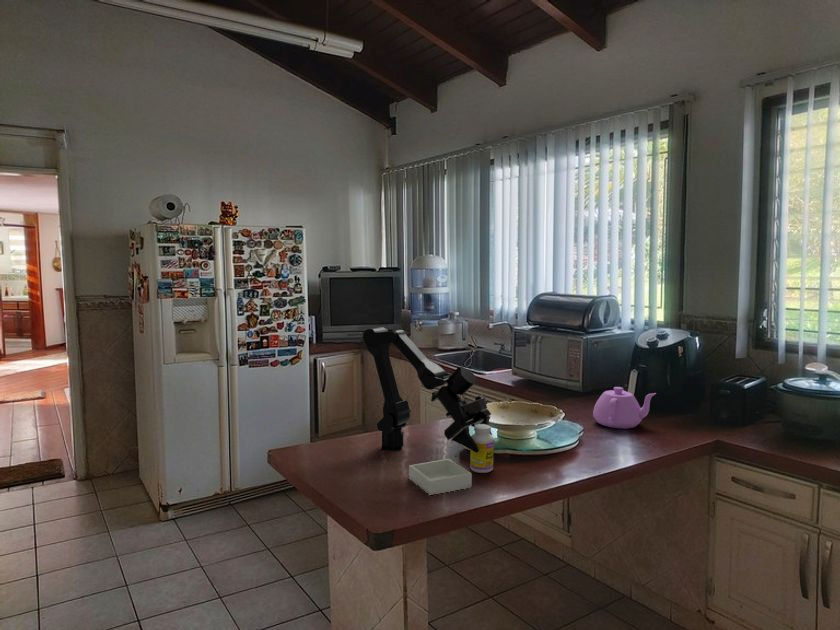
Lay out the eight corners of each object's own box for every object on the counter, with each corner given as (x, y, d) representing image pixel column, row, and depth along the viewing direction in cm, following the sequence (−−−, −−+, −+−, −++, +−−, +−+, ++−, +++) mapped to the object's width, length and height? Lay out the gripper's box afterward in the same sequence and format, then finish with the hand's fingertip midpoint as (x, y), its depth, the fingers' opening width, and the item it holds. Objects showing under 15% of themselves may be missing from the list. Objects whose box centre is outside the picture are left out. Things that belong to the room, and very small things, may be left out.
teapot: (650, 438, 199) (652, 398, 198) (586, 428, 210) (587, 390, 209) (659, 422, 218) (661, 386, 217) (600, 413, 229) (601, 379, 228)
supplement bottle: (487, 475, 165) (487, 431, 163) (466, 470, 168) (466, 427, 167) (496, 468, 170) (497, 425, 169) (476, 463, 174) (477, 421, 173)
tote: (409, 479, 162) (409, 465, 161) (448, 472, 167) (448, 458, 167) (429, 496, 150) (429, 481, 150) (471, 487, 156) (471, 473, 155)
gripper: (453, 394, 162) (488, 440, 157) (485, 382, 177) (518, 423, 172) (429, 417, 167) (462, 462, 162) (463, 403, 182) (494, 444, 177)
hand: (485, 447), depth 168 cm, fingers open, 9 cm apart
